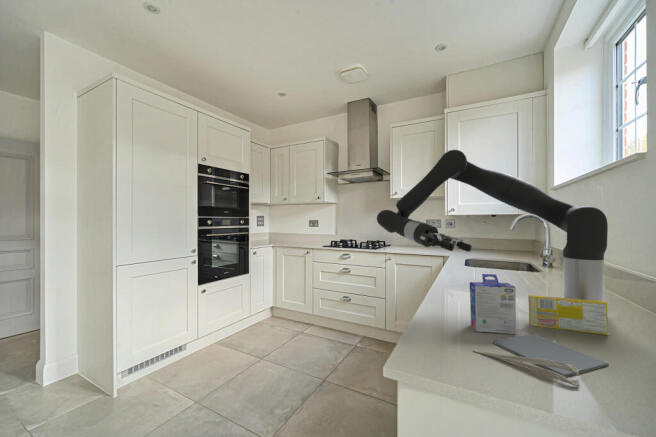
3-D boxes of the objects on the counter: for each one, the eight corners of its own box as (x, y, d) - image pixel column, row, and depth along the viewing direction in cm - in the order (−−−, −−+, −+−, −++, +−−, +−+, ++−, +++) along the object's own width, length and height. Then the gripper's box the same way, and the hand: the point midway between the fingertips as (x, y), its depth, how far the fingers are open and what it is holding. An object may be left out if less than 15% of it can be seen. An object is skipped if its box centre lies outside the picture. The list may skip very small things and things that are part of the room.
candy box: (604, 332, 70) (604, 300, 70) (609, 336, 68) (608, 303, 68) (528, 323, 76) (528, 294, 76) (530, 325, 74) (530, 295, 74)
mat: (531, 335, 68) (531, 333, 68) (608, 365, 54) (608, 363, 54) (492, 342, 64) (492, 340, 64) (564, 377, 50) (564, 374, 50)
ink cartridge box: (508, 326, 74) (507, 273, 74) (518, 335, 68) (517, 278, 68) (469, 324, 76) (468, 272, 76) (475, 332, 70) (475, 276, 70)
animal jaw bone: (579, 372, 50) (578, 362, 49) (579, 390, 46) (577, 380, 46) (476, 349, 62) (475, 342, 62) (470, 363, 59) (468, 354, 58)
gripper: (408, 220, 90) (450, 234, 76) (436, 224, 97) (479, 237, 83) (403, 242, 91) (443, 259, 77) (431, 243, 98) (472, 260, 84)
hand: (462, 248), depth 80 cm, fingers open, 8 cm apart
